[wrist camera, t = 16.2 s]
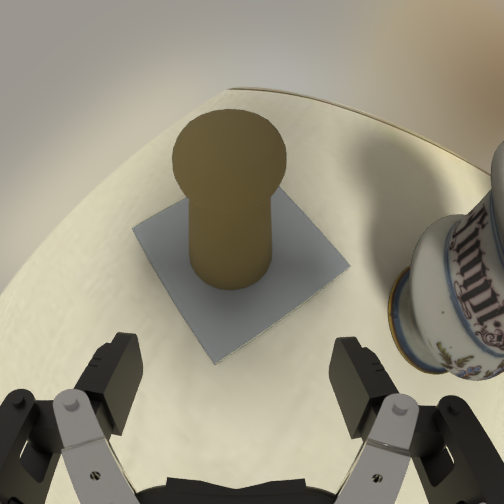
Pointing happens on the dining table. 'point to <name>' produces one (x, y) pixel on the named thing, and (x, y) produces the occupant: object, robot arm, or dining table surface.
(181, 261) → the slate tile
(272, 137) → the brown pawn
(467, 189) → the dining table surface
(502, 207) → the apothecary jar
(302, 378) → the dining table surface
